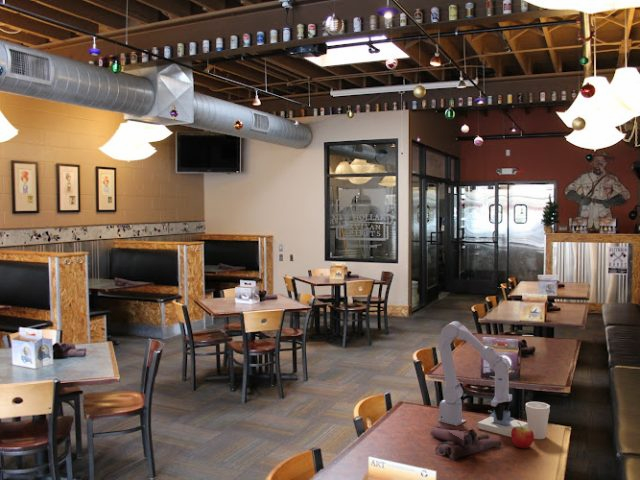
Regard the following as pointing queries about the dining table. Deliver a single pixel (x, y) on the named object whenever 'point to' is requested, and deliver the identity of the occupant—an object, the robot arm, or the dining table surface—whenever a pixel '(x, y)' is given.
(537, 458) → the dining table surface
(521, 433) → the apple
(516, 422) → the chassis plate
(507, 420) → the servo
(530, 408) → the foam cup
